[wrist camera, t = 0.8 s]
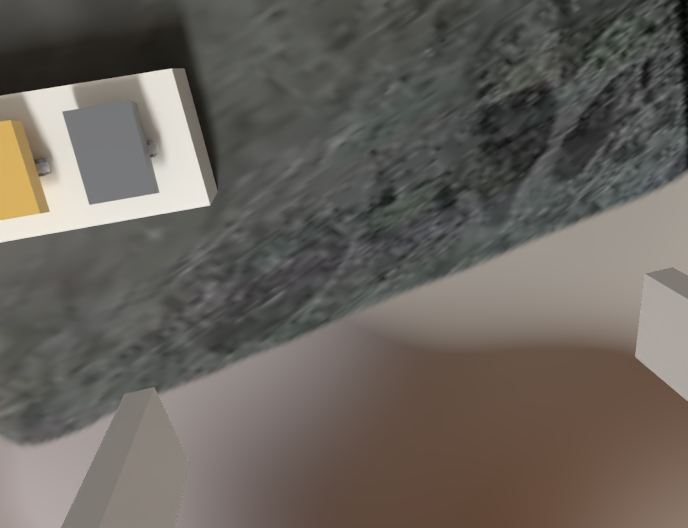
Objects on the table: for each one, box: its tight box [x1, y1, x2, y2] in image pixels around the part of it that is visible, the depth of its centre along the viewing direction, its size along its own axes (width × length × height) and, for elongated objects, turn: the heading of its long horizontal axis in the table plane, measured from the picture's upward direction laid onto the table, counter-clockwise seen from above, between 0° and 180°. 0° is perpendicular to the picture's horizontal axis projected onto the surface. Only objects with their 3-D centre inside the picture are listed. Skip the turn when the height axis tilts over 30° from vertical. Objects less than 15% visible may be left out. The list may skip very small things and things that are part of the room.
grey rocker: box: [62, 101, 160, 205], centre depth 28 cm, size 6×4×1 cm
